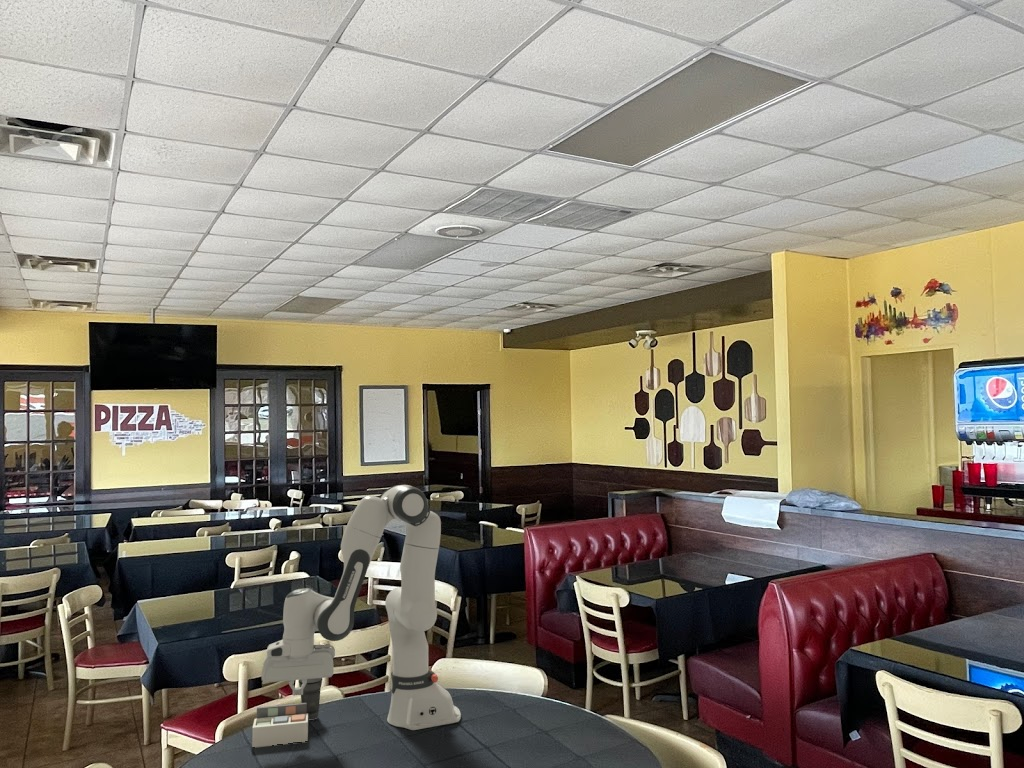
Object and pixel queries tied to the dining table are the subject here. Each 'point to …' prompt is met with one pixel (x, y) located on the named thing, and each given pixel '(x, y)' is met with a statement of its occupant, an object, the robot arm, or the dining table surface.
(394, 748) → the dining table surface
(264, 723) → the key sage
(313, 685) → the beverage cup
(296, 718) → the key terracotta
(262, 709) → the keypad console
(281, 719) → the key slate
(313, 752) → the dining table surface
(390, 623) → the robot arm
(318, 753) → the dining table surface
